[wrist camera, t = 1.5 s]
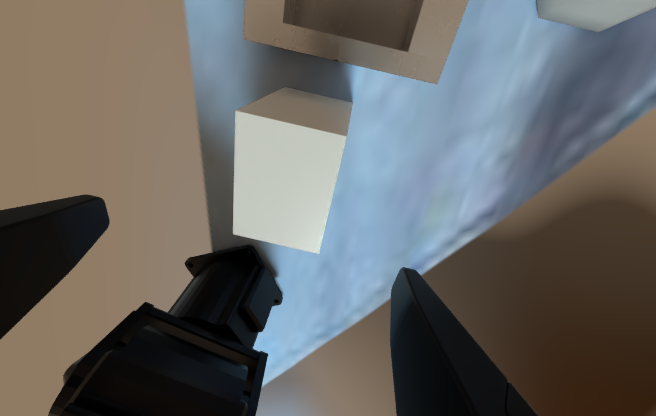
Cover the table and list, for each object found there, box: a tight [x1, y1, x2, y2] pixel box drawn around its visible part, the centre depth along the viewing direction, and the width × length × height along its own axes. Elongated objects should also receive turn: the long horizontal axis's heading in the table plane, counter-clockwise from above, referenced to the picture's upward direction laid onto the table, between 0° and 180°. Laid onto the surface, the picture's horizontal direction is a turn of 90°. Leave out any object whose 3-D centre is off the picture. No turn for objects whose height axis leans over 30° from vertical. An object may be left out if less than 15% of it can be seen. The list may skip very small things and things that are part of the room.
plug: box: [233, 87, 353, 254], centre depth 14 cm, size 6×4×7 cm
